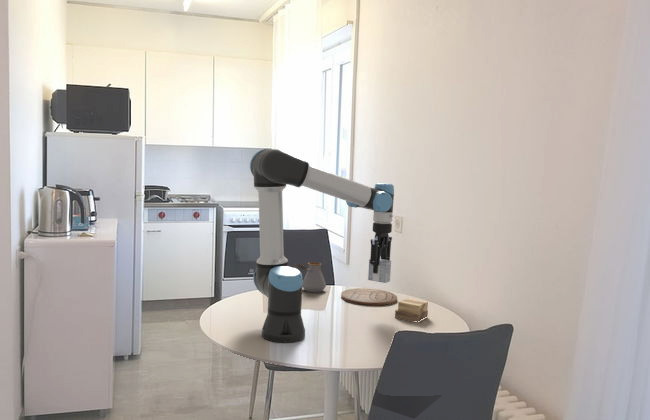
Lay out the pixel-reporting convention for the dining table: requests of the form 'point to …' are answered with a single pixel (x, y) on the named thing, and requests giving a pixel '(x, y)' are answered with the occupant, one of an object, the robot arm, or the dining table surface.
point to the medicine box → (381, 271)
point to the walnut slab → (410, 315)
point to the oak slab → (412, 306)
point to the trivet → (369, 297)
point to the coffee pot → (313, 278)
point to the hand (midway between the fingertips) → (379, 280)
